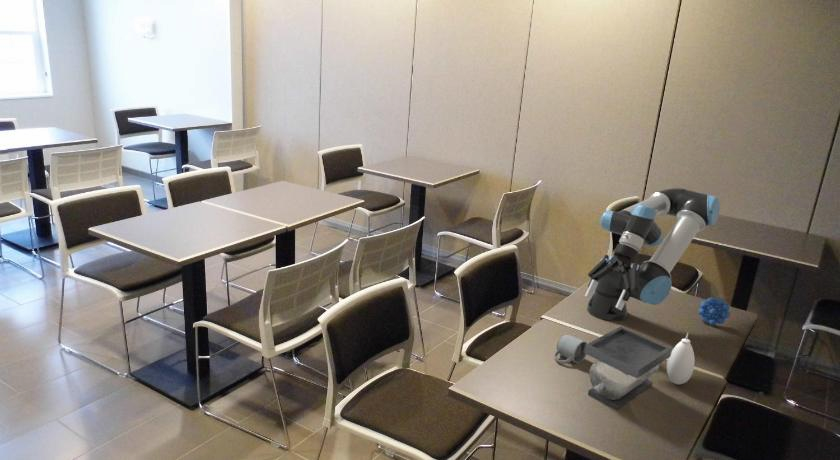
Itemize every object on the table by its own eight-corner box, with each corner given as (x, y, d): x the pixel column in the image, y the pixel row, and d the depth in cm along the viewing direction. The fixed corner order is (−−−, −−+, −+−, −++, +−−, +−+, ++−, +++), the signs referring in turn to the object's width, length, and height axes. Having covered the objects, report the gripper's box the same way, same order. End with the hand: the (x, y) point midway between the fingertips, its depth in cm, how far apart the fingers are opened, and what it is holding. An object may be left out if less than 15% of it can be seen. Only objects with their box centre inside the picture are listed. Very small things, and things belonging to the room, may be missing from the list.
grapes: (730, 327, 235) (737, 299, 231) (723, 332, 230) (730, 303, 226) (700, 316, 243) (707, 289, 239) (693, 321, 238) (699, 293, 234)
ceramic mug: (566, 349, 210) (569, 329, 207) (586, 359, 204) (589, 339, 201) (547, 358, 203) (550, 338, 200) (567, 369, 197) (570, 348, 195)
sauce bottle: (663, 385, 191) (674, 335, 185) (663, 373, 198) (674, 324, 192) (690, 392, 188) (702, 340, 183) (689, 379, 195) (700, 330, 190)
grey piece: (613, 367, 200) (620, 326, 195) (663, 391, 188) (672, 348, 183) (577, 389, 186) (584, 345, 181) (628, 416, 174) (638, 370, 169)
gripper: (594, 236, 216) (569, 289, 215) (653, 250, 195) (626, 309, 194) (606, 244, 220) (582, 296, 219) (665, 259, 200) (638, 317, 198)
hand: (602, 303), depth 206 cm, fingers open, 13 cm apart
